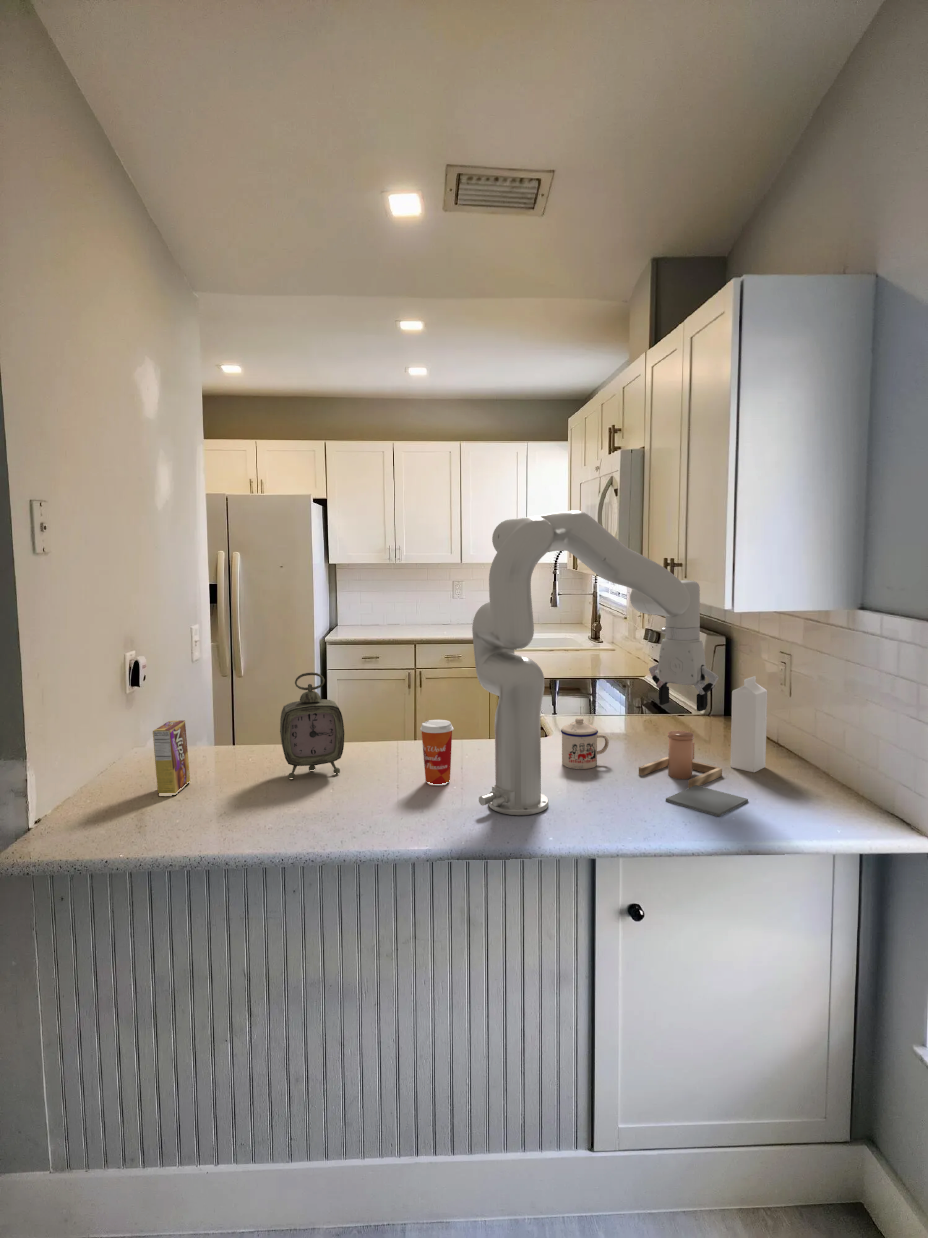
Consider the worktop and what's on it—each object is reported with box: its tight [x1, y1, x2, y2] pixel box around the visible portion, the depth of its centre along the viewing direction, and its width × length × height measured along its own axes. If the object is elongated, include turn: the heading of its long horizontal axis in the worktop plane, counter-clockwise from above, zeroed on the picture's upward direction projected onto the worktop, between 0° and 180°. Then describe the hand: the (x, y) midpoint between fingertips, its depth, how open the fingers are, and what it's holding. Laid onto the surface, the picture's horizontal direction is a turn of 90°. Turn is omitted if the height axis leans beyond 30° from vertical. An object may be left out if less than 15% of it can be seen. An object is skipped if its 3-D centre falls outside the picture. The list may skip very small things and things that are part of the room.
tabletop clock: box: [279, 671, 345, 779], centre depth 167 cm, size 14×9×25 cm, turn 108°
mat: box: [665, 785, 749, 817], centre depth 146 cm, size 12×12×1 cm
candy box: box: [152, 719, 191, 794], centre depth 158 cm, size 9×4×15 cm, turn 0°
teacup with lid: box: [560, 717, 610, 770], centre depth 172 cm, size 12×9×12 cm
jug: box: [667, 730, 695, 780], centre depth 163 cm, size 8×6×10 cm
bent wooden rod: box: [638, 756, 723, 789], centre depth 163 cm, size 14×14×2 cm
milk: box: [730, 675, 768, 773], centre depth 167 cm, size 6×6×22 cm
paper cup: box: [419, 719, 455, 784], centre depth 160 cm, size 8×8×14 cm
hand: (682, 707), depth 161 cm, fingers open, 9 cm apart
